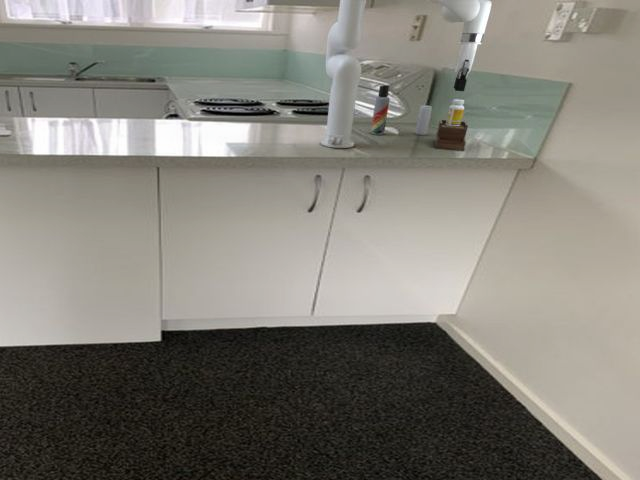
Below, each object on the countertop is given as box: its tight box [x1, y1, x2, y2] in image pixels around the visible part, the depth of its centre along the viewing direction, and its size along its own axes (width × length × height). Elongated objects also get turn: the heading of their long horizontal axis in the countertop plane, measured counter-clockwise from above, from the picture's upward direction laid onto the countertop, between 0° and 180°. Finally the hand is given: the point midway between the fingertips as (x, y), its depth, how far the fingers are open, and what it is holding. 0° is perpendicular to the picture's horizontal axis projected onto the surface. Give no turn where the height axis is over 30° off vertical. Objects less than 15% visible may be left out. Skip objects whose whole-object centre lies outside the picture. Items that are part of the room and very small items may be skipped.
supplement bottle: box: [445, 98, 465, 127], centre depth 164 cm, size 5×5×10 cm
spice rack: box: [434, 119, 469, 152], centre depth 165 cm, size 15×10×8 cm, turn 159°
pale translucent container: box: [414, 104, 433, 136], centre depth 183 cm, size 5×5×12 cm
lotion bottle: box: [370, 85, 390, 136], centre depth 180 cm, size 6×6×20 cm
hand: (458, 89), depth 160 cm, fingers open, 9 cm apart
